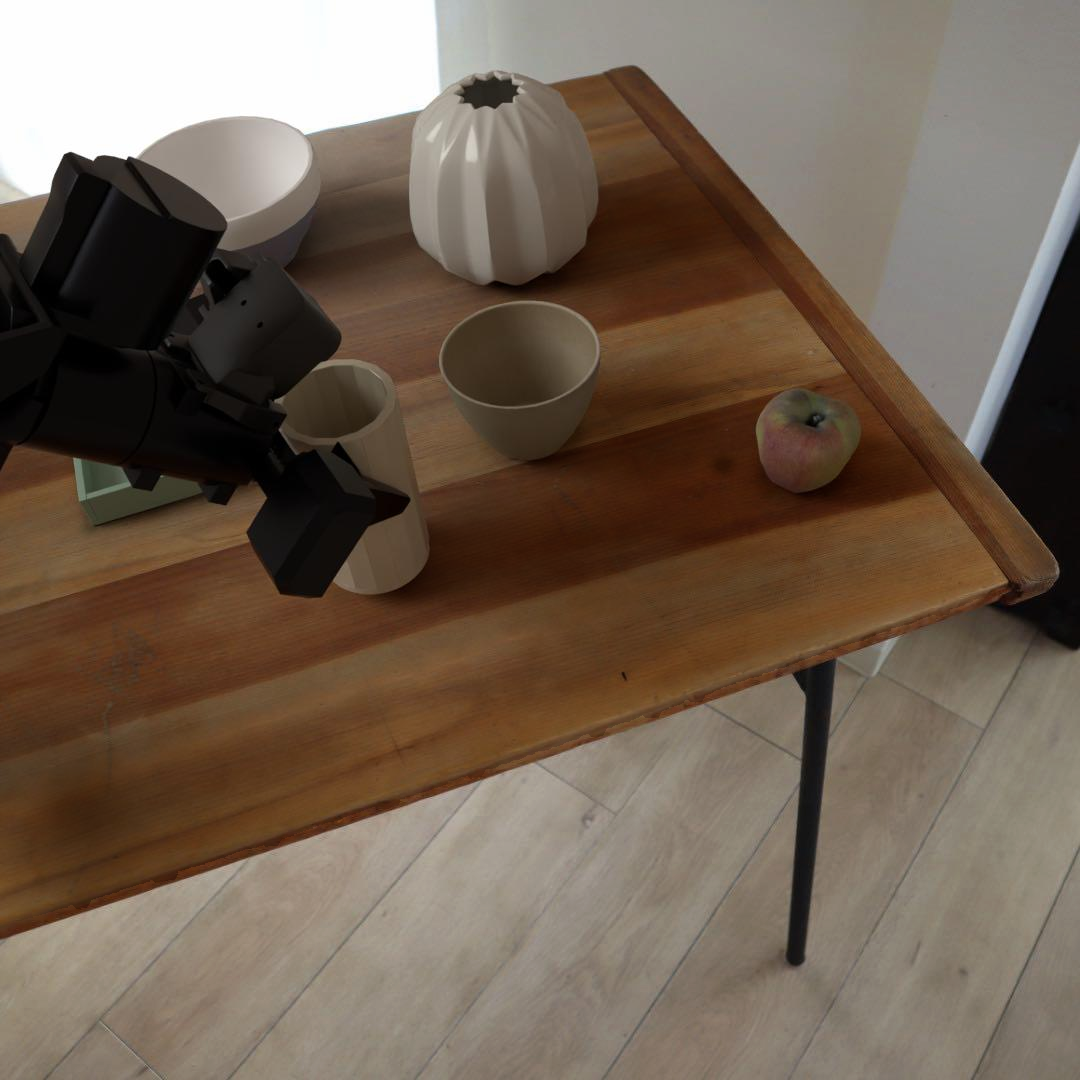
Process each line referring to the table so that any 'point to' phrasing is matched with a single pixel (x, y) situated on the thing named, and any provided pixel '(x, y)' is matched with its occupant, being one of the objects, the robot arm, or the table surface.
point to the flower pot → (522, 375)
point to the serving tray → (122, 491)
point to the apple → (806, 439)
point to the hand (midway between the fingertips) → (378, 467)
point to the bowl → (247, 179)
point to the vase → (501, 179)
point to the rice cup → (364, 463)
